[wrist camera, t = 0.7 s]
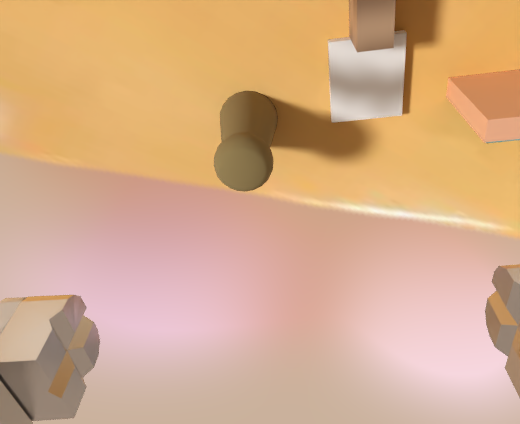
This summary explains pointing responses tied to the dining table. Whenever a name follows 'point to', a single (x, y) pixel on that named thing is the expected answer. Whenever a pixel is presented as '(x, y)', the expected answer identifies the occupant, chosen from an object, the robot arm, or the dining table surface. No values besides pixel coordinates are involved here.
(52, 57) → the dining table surface
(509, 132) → the terracotta tile
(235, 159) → the cork
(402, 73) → the blocks
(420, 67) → the dining table surface
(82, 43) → the dining table surface
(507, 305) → the robot arm
